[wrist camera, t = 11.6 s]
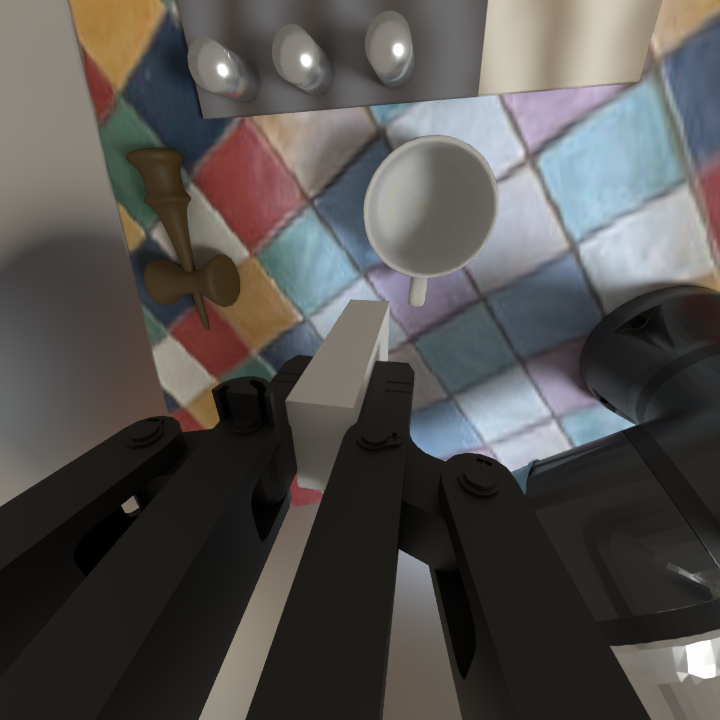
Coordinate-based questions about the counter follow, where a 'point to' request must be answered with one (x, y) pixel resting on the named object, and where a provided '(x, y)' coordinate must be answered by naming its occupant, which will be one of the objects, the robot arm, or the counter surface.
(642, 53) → the board
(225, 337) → the counter surface
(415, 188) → the teacup
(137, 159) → the kendama
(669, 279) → the counter surface
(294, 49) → the steel spacers
